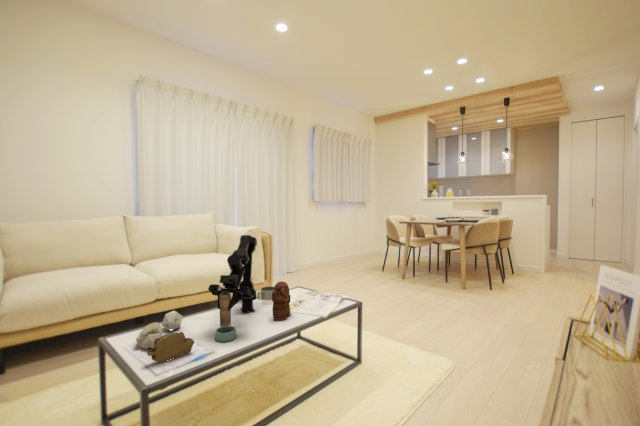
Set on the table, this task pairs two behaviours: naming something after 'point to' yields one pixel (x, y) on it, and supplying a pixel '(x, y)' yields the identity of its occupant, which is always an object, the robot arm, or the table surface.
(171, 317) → the die
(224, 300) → the walnut peg
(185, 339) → the wooden carving
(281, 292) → the wooden figurine
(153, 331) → the fossil replica
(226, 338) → the teal bowl
